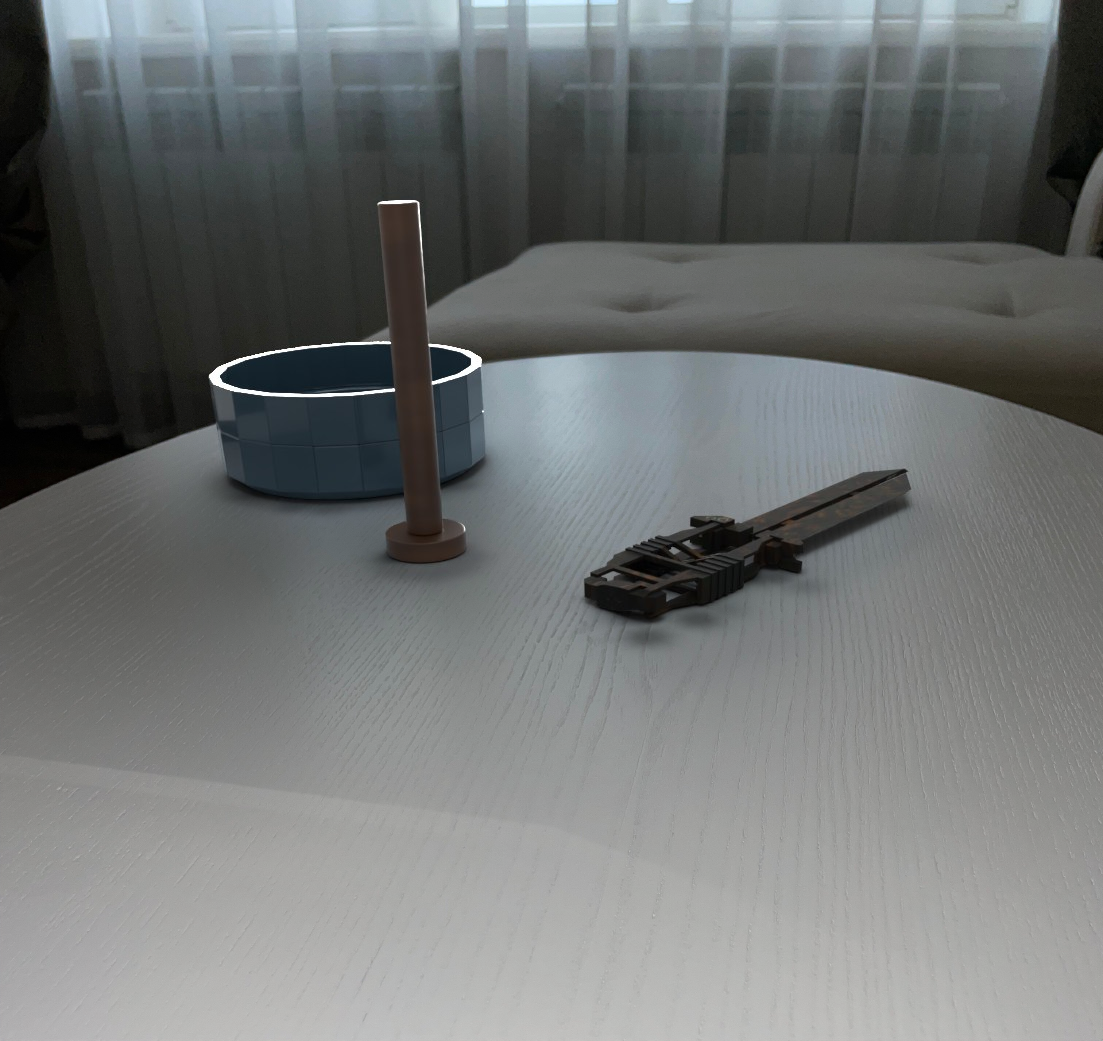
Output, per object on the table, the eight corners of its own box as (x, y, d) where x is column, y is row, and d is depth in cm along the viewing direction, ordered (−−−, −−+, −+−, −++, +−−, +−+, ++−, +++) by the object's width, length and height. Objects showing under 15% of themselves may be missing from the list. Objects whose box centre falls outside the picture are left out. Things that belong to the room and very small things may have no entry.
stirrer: (374, 559, 57) (336, 205, 49) (405, 534, 60) (374, 198, 53) (450, 565, 56) (424, 205, 48) (477, 538, 59) (456, 197, 52)
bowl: (174, 495, 68) (155, 391, 65) (299, 427, 81) (288, 339, 78) (432, 511, 64) (423, 401, 61) (518, 437, 77) (514, 344, 74)
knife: (884, 478, 67) (886, 454, 66) (983, 501, 63) (987, 476, 62) (553, 589, 53) (552, 560, 52) (652, 629, 49) (652, 598, 48)
